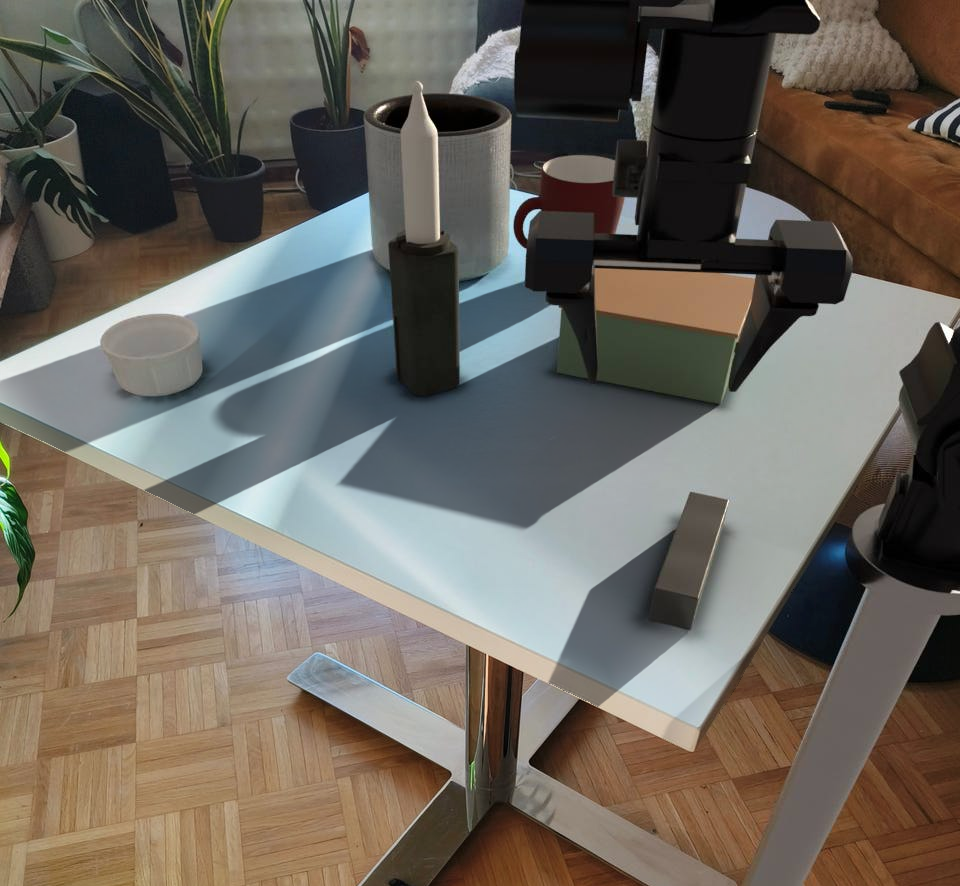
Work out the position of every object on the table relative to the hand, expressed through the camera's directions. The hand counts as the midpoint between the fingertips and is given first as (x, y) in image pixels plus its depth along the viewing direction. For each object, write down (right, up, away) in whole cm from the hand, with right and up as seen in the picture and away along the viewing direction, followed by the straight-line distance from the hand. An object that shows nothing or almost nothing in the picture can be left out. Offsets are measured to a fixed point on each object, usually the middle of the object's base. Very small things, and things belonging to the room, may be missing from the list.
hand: (661, 385), depth 60 cm
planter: (-17, +28, +47) cm, 57 cm away
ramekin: (-43, +8, +26) cm, 51 cm away
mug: (-2, +25, +44) cm, 50 cm away
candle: (-17, +8, +26) cm, 32 cm away
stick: (+3, -12, +6) cm, 14 cm away
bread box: (+5, +11, +29) cm, 32 cm away
